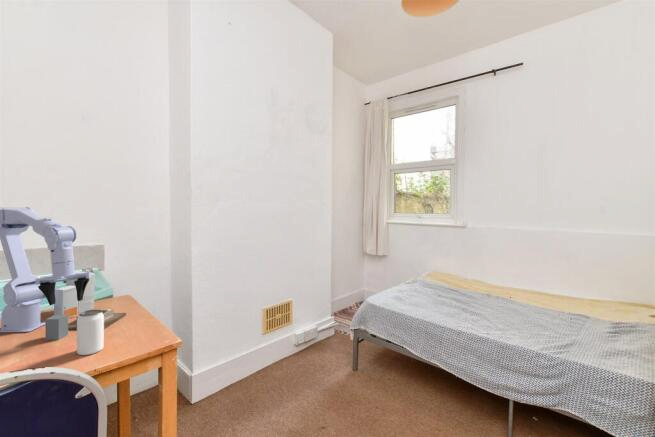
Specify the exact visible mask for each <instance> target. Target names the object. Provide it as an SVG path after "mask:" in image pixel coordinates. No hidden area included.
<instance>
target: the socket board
mask: <svg viewBox="0 0 655 437" xmlns="http://www.w3.org/2000/svg"><path fill="white" fill-rule="evenodd" d="M91 310H102V313H103V315H104V330H105V329H107V328H108V327H110V326H112V325H113V324H115V323H116V322H117V321H119V320H120V319H122V318H124V317H126V316H127V312H114V311H115V309H114V308H113V309H110V308H109V309H104V308H103V309H102V308H101V309H100V308H99V309H95V308H94V309H91ZM78 317H79V315H77V316H76V319H75V320H73V321H71V322H68V331H71V330H72V331H74V330H75V331H77V319H78Z"/></svg>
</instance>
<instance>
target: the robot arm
mask: <svg viewBox="0 0 655 437" xmlns="http://www.w3.org/2000/svg"><path fill="white" fill-rule="evenodd" d="M30 227H32V231H33V232H35V233H36V234H37V235H39V236H41V237H43V239H44V241H45V243H46V245H47V250H49V251H50V264H51V274H52V275H51V276H45V277H40V276H37V275H34V274H33V273H32V271H31V270H32V269H31V267H30V263H29V260H28V256H27V254H26V251H25V246H24V244H23V241H22V238H21V234H23V233H24V232H26V231H28V229H29V228H30ZM76 239H77V232H76V229H75V228H74V227H72V226H71V225H70V226H69V225H68V226H63V225H61V223H57V222H55V221H54V220H52V218H50V217H43V218H42V217H40V216H39V215H37V214H36V213H35V209H33V208H31V207H29V206H26V207H0V243H1V246H2V249H3V254H4V256H5V259H6V262H7V267H8V270H9V273H10V277H11V279H10V280H9V281H8V282H6V284H5V285H4V286H3V287H2V288H3V301H4V303H5V304H6V306H4V307H3V309H2V311H1V314H0V318H1V320H0V323H1V325H0V327H1V329H0V333H30V332H32V331H33V330H34V331H35V330H37V329H38V328H40V327H42V326H45V321H41V302H43V301H44V299H45V298H46V300H47V302H48V305H49V306H54V304H55V289H56V284H57V283H59V282H66V281H68V280H76V279H77V280H76V281H74V283H75V287H76V291H77V300H78V301H81V300H83V295H84V291H85V288H86V286H87V283H88V281H89V278H91V277H92V276H91V273H92V271H84V272H85V273H75V272H76V268H75V257H74V245H73V243H74V242H75V241H76ZM66 278H71V279H66Z"/></svg>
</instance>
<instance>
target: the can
mask: <svg viewBox="0 0 655 437" xmlns="http://www.w3.org/2000/svg"><path fill="white" fill-rule="evenodd" d="M78 316H79V317H78ZM78 316H77V317H78V319H77V318H76V320H77V330H76V353H77V355H79V356H90V355H94V354H97V353H99V352H101V351H102V350H103V349H104V347H105V346H104V345H105V343H104V342H105V336H104V335H105V334H104V333H105V329H104V315H103V313H102V310H92V309H91V310H87V311H84V312H81V313H78Z"/></svg>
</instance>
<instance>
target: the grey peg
mask: <svg viewBox="0 0 655 437" xmlns="http://www.w3.org/2000/svg"><path fill="white" fill-rule="evenodd" d="M44 322H45V325H44V326H45V327H44V328H45V334H44V335H45V337H44V338H45V339H44V340H45V341H59V340H62V339H63V338H64V337H66V336H69V330H68V324H69V318H68V315H54V314H53V315H52V316H49V317H48V318H45V321H44Z"/></svg>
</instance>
